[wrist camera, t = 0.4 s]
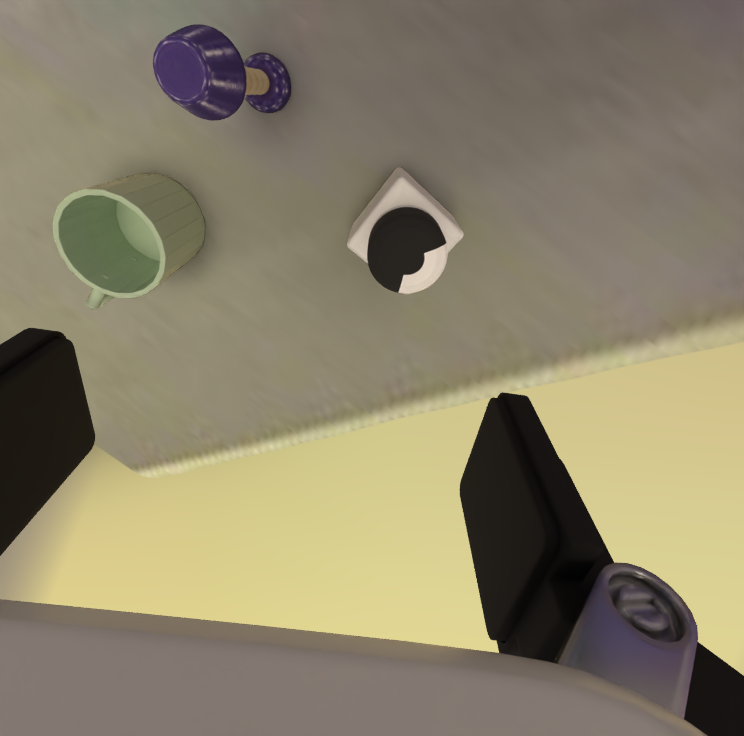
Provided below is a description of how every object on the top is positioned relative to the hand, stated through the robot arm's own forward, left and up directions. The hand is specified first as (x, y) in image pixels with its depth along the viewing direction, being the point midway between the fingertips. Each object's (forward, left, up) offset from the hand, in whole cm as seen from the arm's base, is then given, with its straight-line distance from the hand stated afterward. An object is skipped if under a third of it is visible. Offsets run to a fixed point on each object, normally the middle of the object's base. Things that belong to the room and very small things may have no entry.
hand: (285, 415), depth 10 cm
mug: (-3, -21, -35) cm, 41 cm away
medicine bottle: (+5, +3, -36) cm, 36 cm away
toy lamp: (-10, -4, -36) cm, 37 cm away
